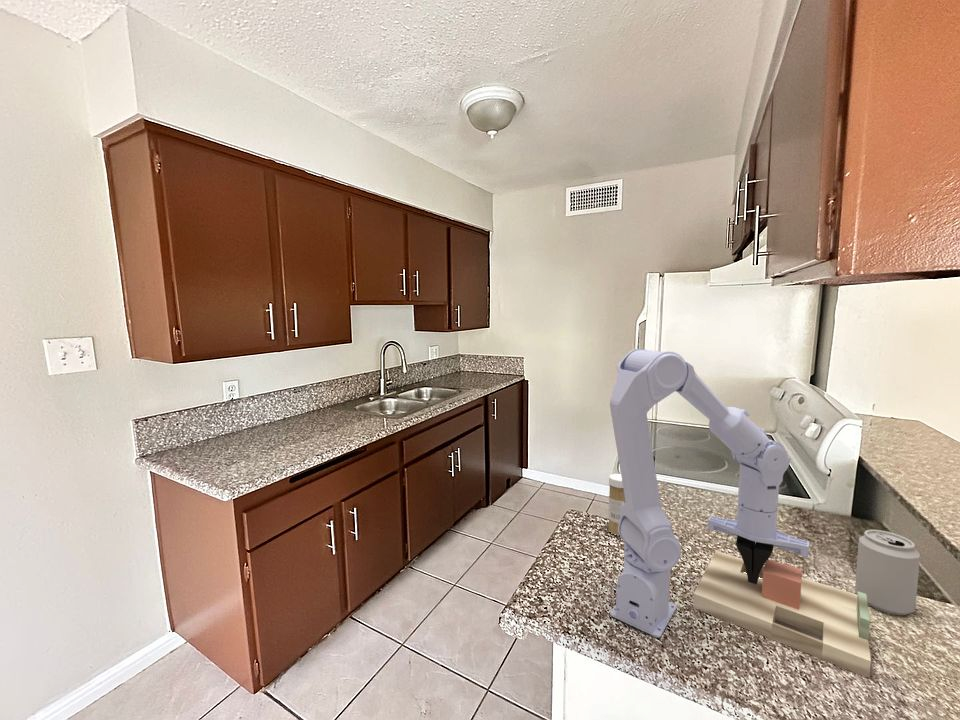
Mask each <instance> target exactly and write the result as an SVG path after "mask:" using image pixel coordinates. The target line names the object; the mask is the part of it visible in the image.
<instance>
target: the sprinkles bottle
mask: <svg viewBox="0 0 960 720" xmlns="http://www.w3.org/2000/svg"><path fill="white" fill-rule="evenodd" d="M608 484H609V485H608V486H609V493H608V494H609V495H608V528H607V531H608V530H609V531H608V533H609V532H611V533H612V534H616V535H619V532H618V524H619V521H620V516H621V514H620V507H621V506H622V505H623V504H625V503H626V501H625V495H624V489H623V483H622V477H621V473H612V474H610V475H609V477H608ZM612 534H611V535H612Z"/></svg>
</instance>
